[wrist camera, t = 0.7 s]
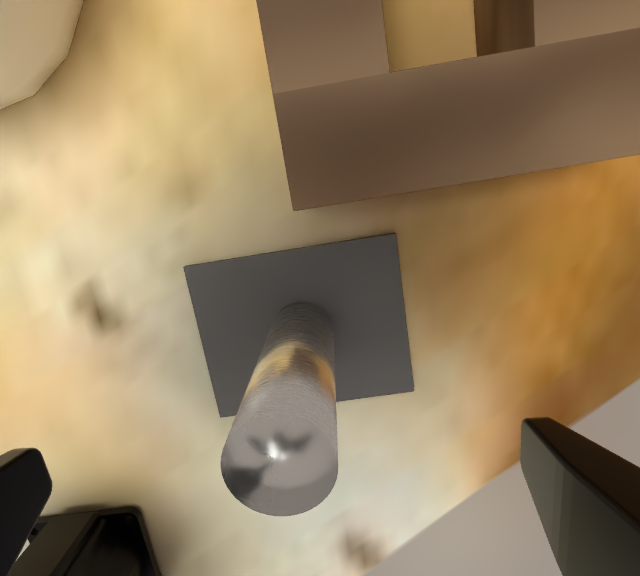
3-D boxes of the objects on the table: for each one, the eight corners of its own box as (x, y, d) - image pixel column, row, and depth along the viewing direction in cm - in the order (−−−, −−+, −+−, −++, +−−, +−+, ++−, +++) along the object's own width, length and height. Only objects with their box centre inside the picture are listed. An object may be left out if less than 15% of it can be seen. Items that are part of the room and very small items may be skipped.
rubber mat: (412, 388, 21) (414, 391, 21) (221, 414, 22) (220, 417, 22) (394, 232, 19) (395, 233, 19) (185, 265, 20) (183, 267, 20)
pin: (337, 355, 21) (345, 508, 11) (277, 363, 21) (234, 522, 11) (328, 297, 20) (328, 406, 10) (266, 306, 20) (209, 423, 10)
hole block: (570, 159, 18) (657, 151, 14) (302, 203, 19) (293, 211, 14) (565, -175, 16) (673, -335, 11) (249, -109, 16) (216, -230, 11)
